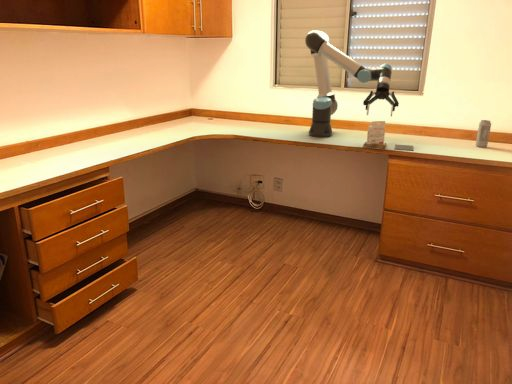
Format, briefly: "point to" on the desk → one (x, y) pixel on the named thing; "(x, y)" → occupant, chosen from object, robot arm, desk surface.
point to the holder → (374, 145)
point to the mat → (403, 147)
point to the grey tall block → (483, 133)
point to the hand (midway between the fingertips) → (379, 114)
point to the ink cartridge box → (376, 133)
